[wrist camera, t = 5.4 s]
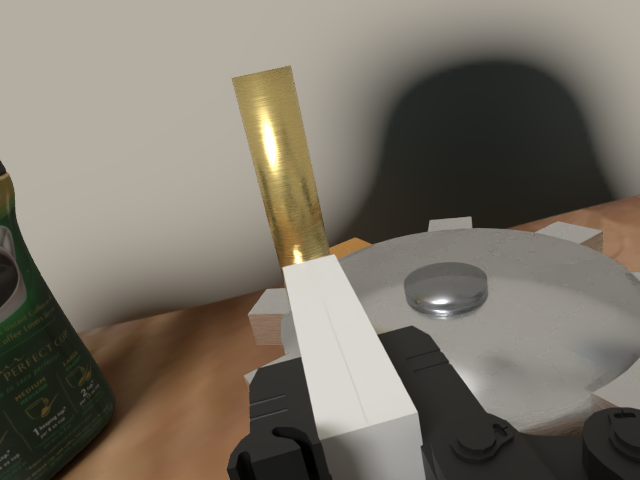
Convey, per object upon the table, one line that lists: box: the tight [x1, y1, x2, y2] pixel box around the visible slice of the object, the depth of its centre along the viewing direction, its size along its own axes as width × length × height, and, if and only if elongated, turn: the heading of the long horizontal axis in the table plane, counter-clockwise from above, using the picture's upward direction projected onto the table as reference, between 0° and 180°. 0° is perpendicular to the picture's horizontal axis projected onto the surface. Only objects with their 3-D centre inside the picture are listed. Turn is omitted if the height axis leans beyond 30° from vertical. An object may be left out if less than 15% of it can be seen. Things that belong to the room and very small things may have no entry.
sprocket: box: [232, 66, 640, 436], centre depth 21 cm, size 21×21×14 cm
